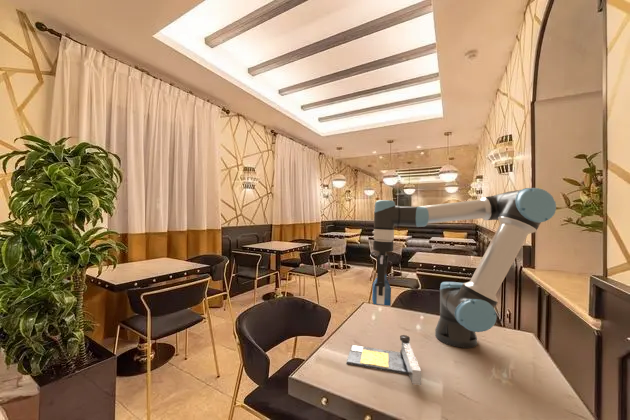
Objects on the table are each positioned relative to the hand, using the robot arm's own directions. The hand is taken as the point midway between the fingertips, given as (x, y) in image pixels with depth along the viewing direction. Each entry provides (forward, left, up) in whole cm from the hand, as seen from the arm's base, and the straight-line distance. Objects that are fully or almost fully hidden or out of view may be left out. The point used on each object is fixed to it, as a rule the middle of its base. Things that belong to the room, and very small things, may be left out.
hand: (381, 300), depth 99 cm
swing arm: (-9, +13, -15) cm, 22 cm away
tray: (0, +9, -18) cm, 20 cm away
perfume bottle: (0, 0, -1) cm, 1 cm away
